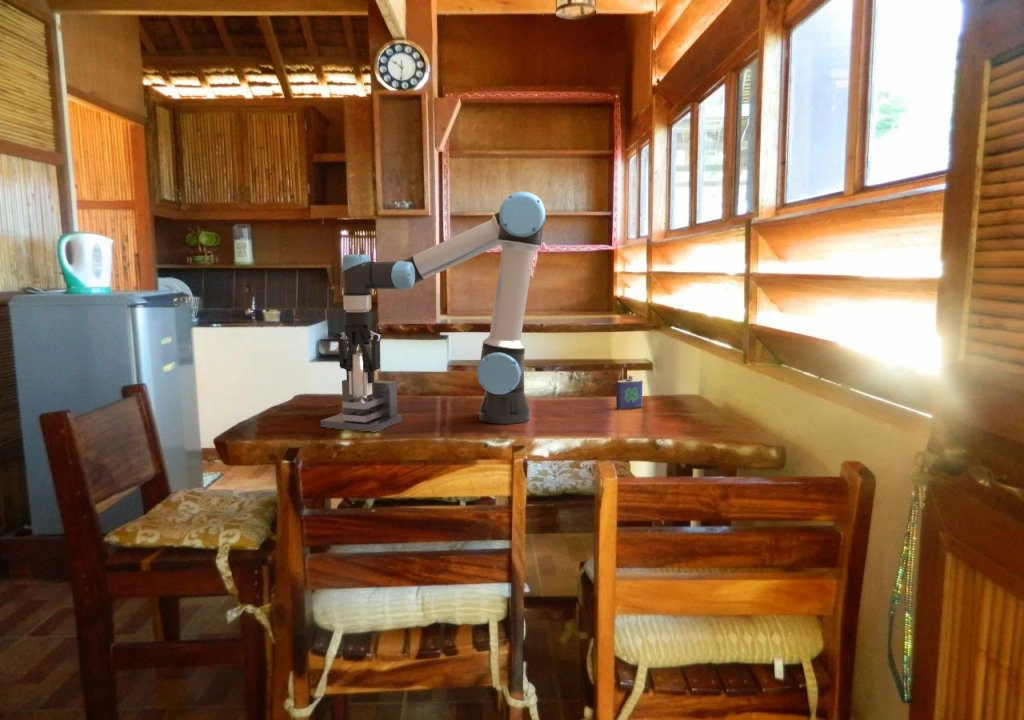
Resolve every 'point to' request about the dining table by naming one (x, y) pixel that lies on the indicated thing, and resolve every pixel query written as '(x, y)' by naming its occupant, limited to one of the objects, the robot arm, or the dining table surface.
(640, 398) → the flask
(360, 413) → the tube
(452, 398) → the dining table surface
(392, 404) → the grey slotted rack
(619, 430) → the dining table surface
